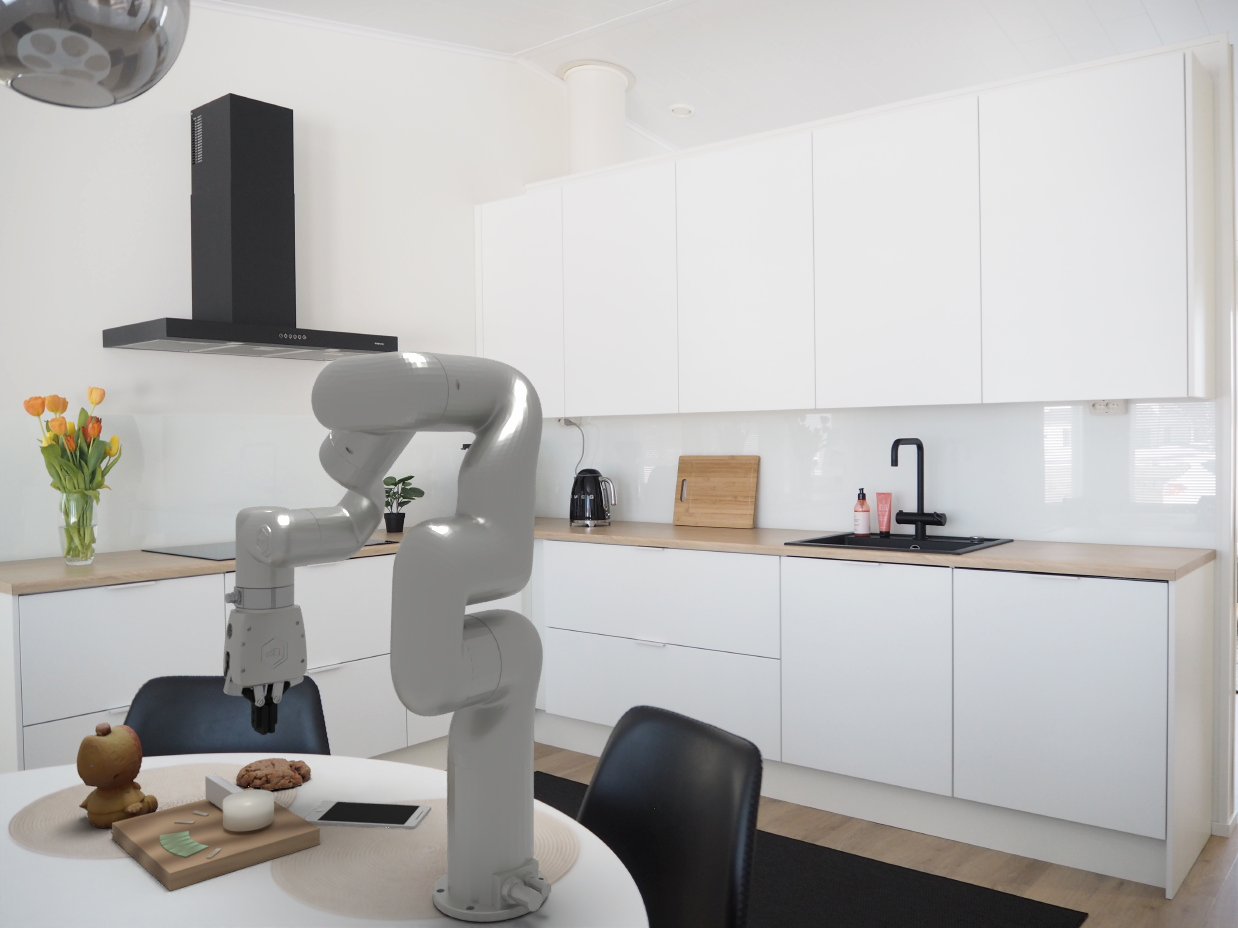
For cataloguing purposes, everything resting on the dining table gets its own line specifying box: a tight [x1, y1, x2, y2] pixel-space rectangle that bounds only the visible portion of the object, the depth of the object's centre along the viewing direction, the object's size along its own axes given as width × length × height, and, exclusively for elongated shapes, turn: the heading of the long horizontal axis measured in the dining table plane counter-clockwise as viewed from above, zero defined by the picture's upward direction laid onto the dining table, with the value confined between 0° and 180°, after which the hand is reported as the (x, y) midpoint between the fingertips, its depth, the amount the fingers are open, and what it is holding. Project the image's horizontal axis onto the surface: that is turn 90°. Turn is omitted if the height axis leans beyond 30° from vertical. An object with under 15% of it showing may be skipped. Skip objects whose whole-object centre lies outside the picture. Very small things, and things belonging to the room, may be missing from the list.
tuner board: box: [111, 787, 321, 892], centre depth 121 cm, size 20×18×2 cm
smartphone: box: [303, 800, 432, 830], centre depth 129 cm, size 7×15×1 cm, turn 83°
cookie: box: [235, 757, 312, 791], centre depth 143 cm, size 10×11×3 cm
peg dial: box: [204, 773, 275, 831], centre depth 124 cm, size 15×6×3 cm, turn 44°
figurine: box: [76, 721, 159, 829], centre depth 127 cm, size 10×8×15 cm
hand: (264, 731), depth 131 cm, fingers closed
